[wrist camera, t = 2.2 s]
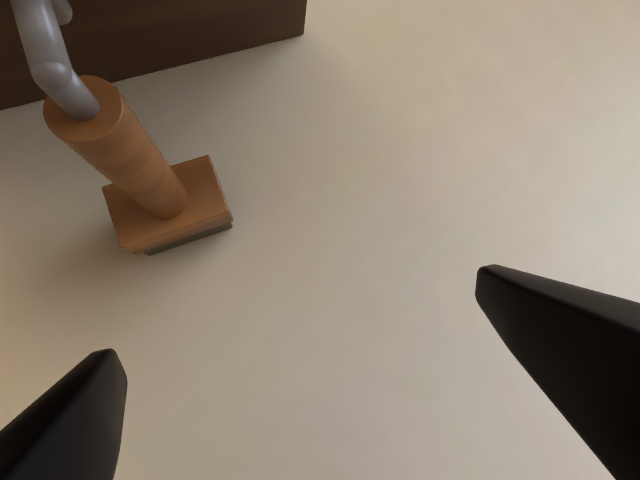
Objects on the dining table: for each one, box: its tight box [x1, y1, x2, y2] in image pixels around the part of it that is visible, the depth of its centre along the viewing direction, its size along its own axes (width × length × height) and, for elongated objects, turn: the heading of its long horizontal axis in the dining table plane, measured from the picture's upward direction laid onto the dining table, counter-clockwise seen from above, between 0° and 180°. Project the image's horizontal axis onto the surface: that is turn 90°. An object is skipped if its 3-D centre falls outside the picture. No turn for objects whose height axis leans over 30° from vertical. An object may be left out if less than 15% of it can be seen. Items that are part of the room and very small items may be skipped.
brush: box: [10, 0, 233, 256], centre depth 16 cm, size 6×6×14 cm
